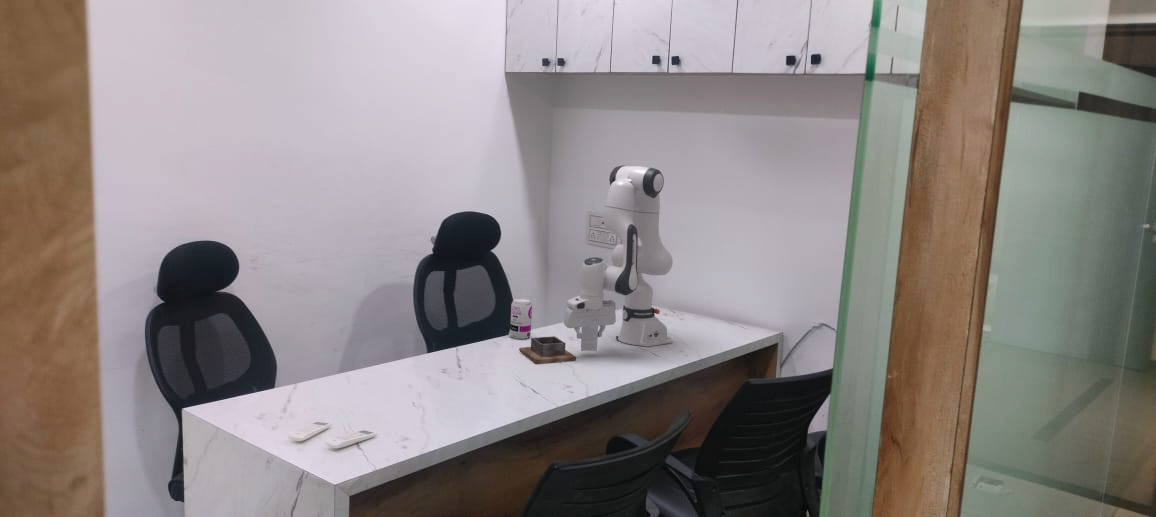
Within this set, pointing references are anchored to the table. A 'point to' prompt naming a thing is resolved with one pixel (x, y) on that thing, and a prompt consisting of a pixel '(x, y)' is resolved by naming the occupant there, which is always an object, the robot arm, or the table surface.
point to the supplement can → (521, 318)
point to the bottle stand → (547, 351)
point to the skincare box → (590, 337)
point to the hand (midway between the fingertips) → (589, 337)
